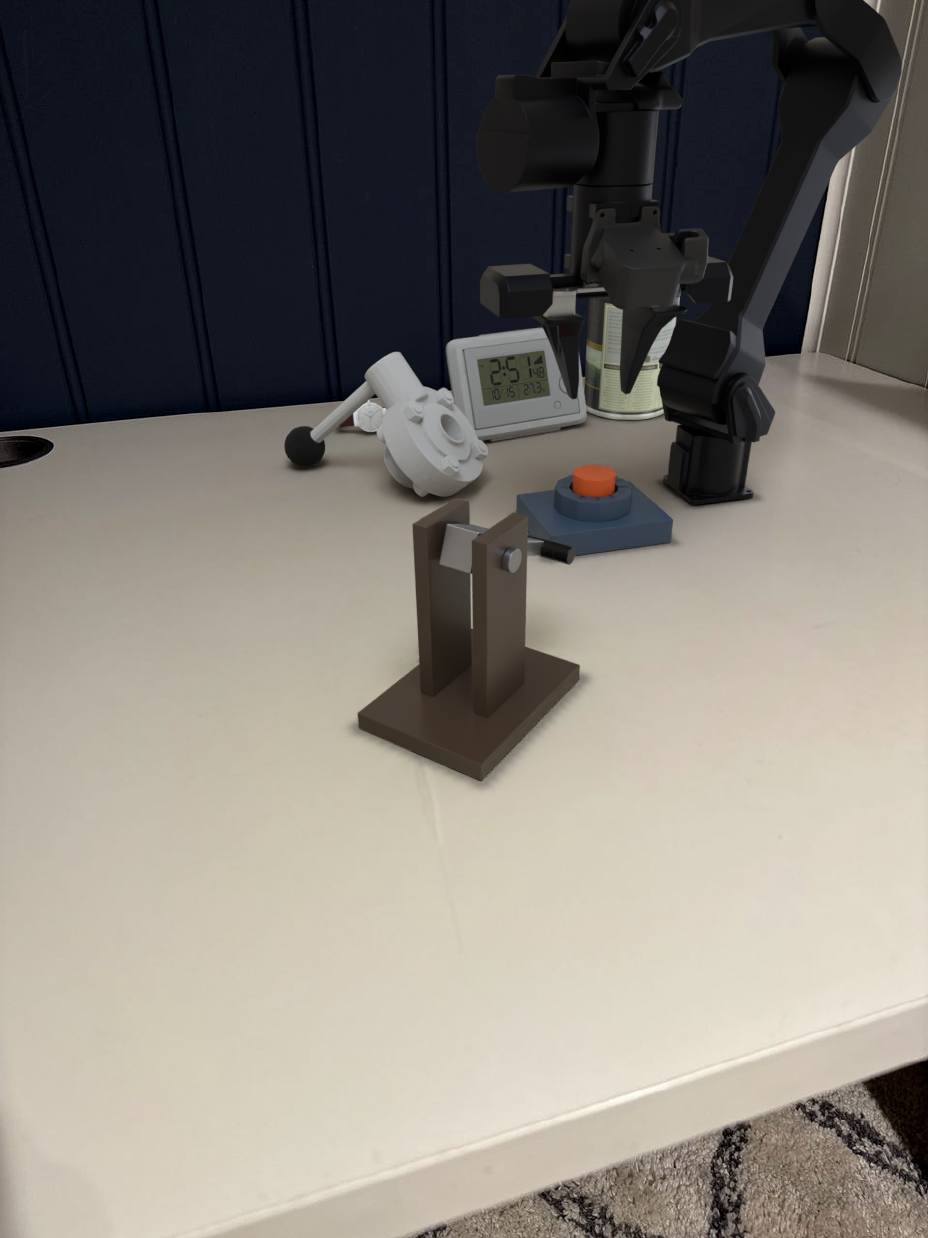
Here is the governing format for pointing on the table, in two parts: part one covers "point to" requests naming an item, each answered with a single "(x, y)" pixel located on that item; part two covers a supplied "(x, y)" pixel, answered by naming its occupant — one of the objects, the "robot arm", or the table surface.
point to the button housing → (595, 518)
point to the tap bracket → (470, 653)
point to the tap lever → (461, 535)
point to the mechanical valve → (405, 431)
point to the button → (594, 480)
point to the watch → (366, 417)
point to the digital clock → (511, 385)
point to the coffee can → (605, 367)
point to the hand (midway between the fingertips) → (599, 395)
